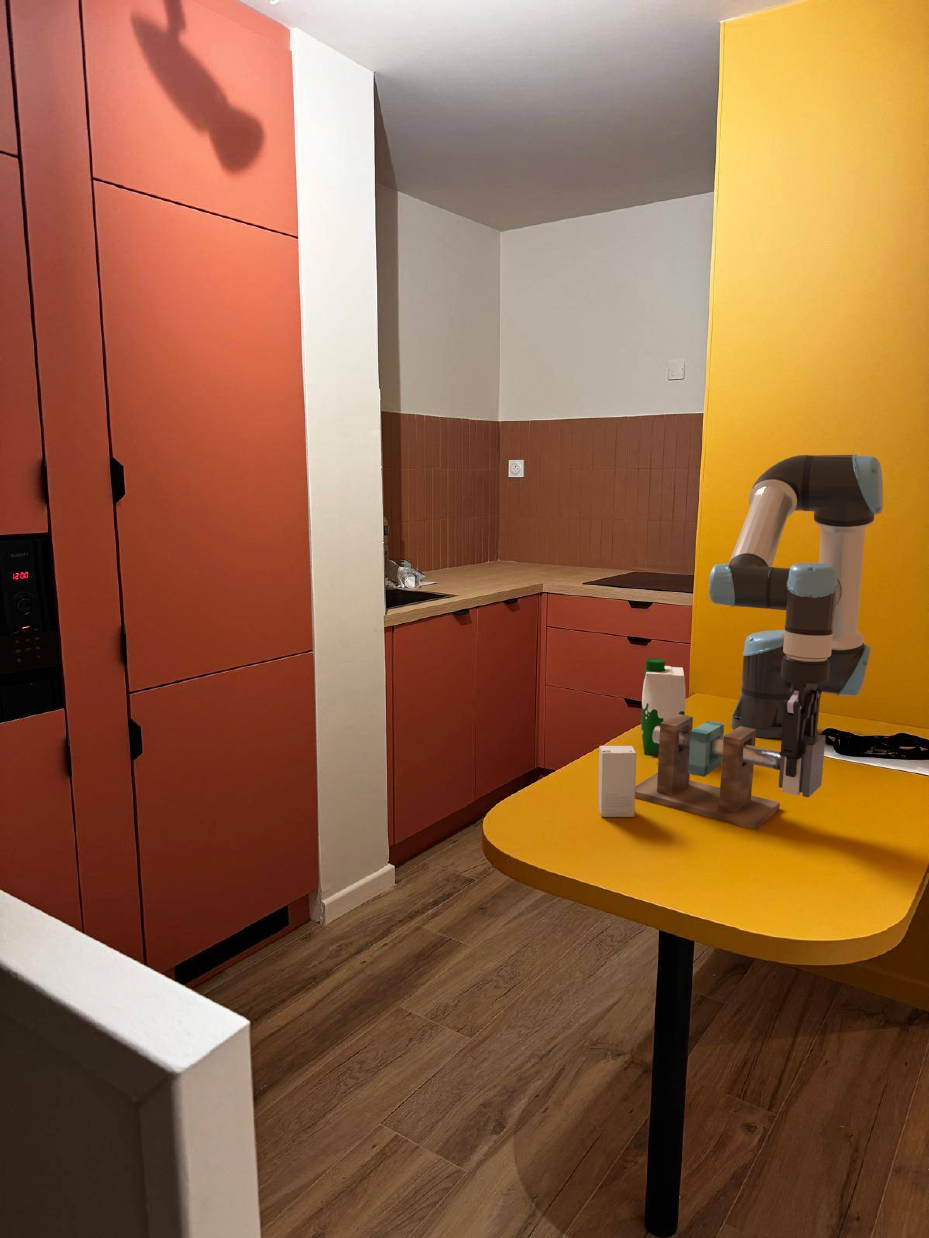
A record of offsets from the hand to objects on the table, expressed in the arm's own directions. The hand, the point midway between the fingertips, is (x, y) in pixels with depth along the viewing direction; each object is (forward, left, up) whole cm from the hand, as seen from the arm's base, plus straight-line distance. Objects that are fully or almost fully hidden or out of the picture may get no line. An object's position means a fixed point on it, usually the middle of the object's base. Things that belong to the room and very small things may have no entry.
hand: (795, 788), depth 149 cm
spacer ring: (0, -16, 0) cm, 16 cm away
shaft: (0, -11, 0) cm, 11 cm away
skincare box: (+15, -26, -7) cm, 31 cm away
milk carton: (-22, -35, -7) cm, 42 cm away
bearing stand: (0, -16, -7) cm, 18 cm away
